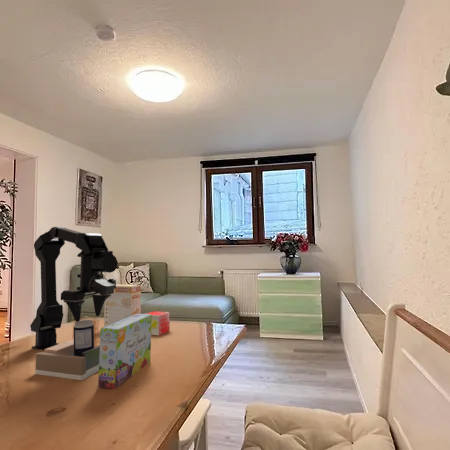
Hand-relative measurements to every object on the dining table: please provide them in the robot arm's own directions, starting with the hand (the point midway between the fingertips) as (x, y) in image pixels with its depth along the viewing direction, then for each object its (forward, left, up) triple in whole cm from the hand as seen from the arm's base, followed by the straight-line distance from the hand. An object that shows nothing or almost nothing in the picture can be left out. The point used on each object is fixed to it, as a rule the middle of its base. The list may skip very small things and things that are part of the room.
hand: (88, 318), depth 111 cm
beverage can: (+5, -7, -11) cm, 14 cm away
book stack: (-2, -7, -11) cm, 14 cm away
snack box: (+21, -8, -13) cm, 26 cm away
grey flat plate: (+10, -7, -11) cm, 17 cm away
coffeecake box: (-12, +37, -13) cm, 41 cm away
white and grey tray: (+4, -7, -13) cm, 15 cm away
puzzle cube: (+5, +37, -13) cm, 39 cm away
